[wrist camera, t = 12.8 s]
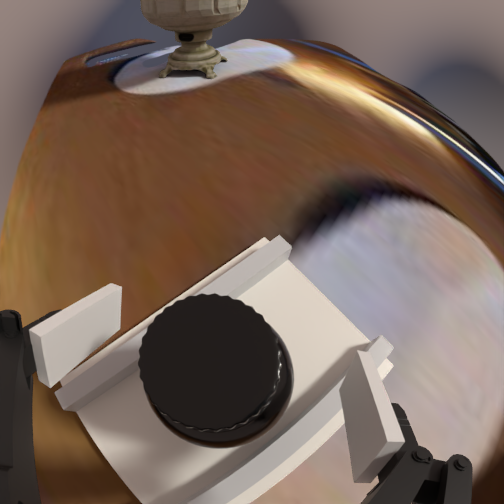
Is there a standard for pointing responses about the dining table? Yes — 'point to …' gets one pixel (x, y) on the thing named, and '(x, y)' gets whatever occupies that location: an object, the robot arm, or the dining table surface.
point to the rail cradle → (242, 457)
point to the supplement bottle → (215, 371)
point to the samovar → (192, 29)
